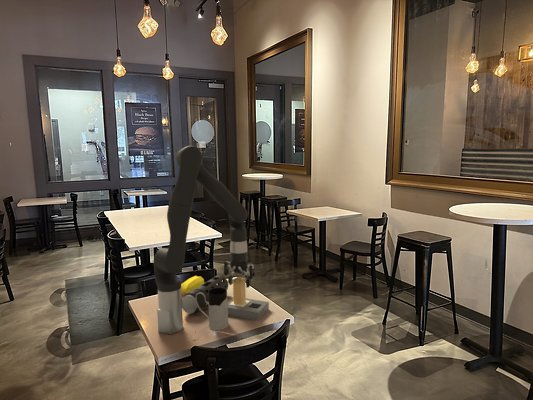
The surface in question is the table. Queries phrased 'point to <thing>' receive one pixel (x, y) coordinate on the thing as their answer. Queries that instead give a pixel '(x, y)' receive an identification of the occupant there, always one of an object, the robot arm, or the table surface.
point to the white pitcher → (217, 308)
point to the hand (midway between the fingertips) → (239, 285)
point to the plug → (239, 290)
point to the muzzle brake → (189, 298)
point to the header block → (248, 309)
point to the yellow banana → (191, 284)
